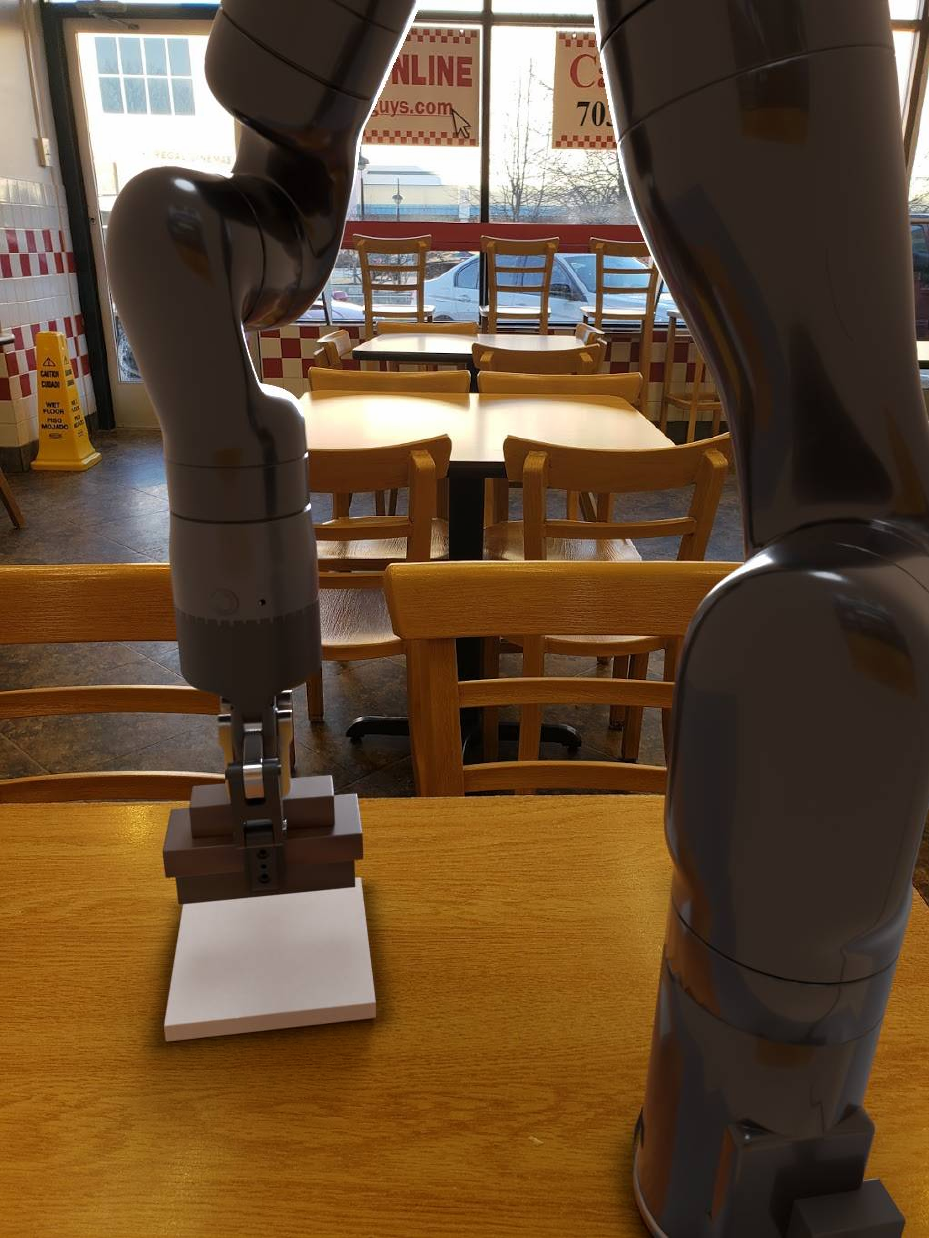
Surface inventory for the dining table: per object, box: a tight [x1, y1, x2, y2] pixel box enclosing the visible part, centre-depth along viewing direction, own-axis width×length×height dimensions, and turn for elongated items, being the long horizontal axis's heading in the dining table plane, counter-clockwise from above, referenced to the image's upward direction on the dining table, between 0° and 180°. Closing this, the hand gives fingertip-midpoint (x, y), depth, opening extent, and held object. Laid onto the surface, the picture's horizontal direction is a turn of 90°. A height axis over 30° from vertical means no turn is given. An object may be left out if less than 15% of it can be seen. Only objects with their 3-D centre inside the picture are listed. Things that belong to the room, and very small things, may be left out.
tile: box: [163, 877, 377, 1042], centre depth 60 cm, size 12×12×1 cm
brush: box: [162, 774, 364, 906], centre depth 55 cm, size 11×4×6 cm, turn 100°
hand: (267, 861), depth 56 cm, fingers closed on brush, 4 cm apart
